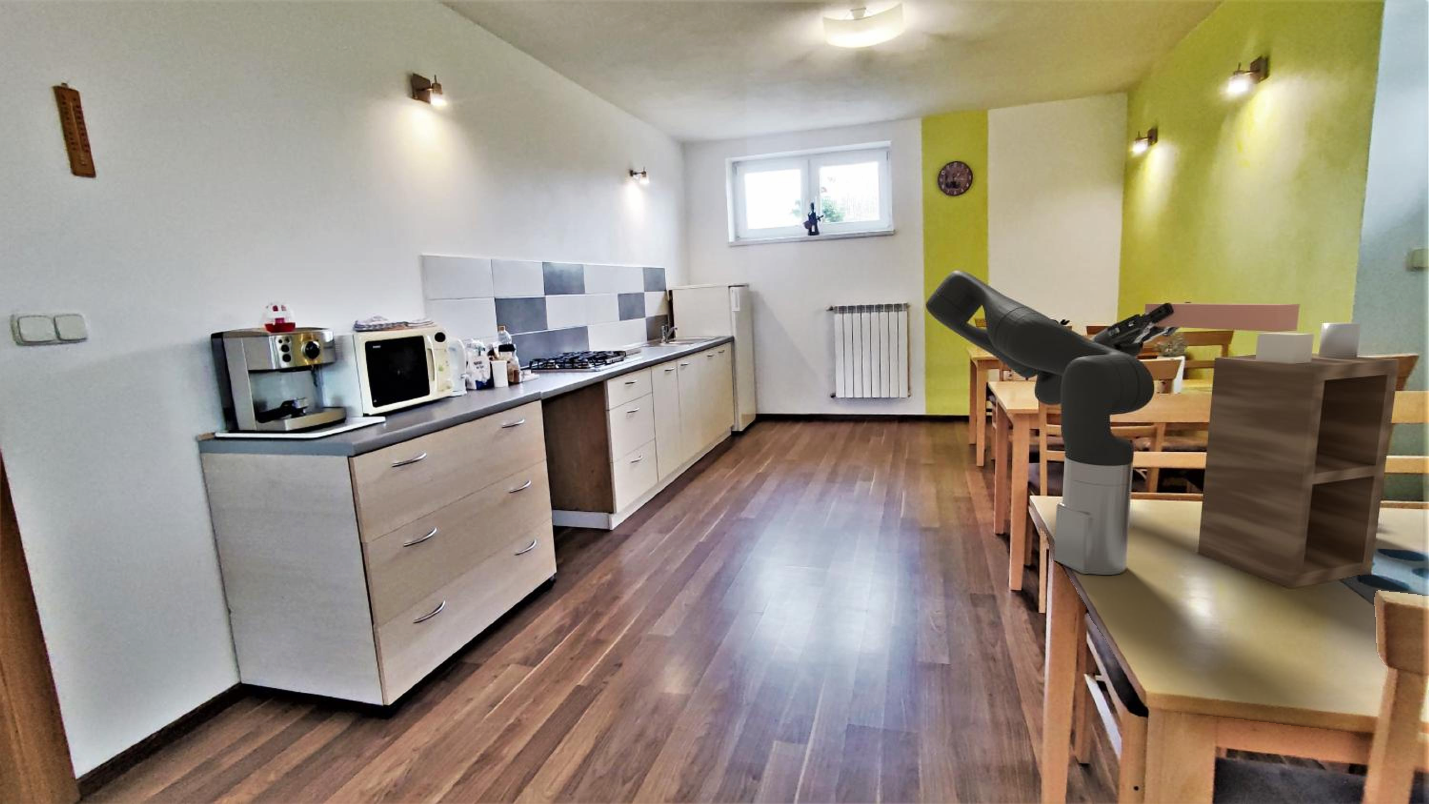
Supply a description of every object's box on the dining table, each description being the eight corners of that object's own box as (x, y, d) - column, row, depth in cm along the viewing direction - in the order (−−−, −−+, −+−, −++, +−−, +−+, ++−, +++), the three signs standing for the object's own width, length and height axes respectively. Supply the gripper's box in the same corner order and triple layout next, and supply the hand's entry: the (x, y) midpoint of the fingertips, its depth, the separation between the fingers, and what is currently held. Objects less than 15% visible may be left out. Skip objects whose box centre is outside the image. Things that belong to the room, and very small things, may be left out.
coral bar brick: (1276, 331, 100) (1279, 305, 100) (1143, 325, 122) (1145, 303, 122) (1296, 330, 101) (1299, 304, 101) (1161, 324, 123) (1162, 302, 123)
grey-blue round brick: (1343, 359, 97) (1347, 324, 96) (1311, 356, 101) (1314, 323, 100) (1364, 357, 98) (1368, 323, 97) (1331, 355, 102) (1335, 322, 101)
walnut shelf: (1290, 588, 95) (1315, 366, 90) (1197, 552, 109) (1214, 357, 104) (1371, 573, 99) (1399, 359, 94) (1272, 540, 113) (1292, 352, 108)
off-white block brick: (1291, 363, 94) (1294, 335, 93) (1255, 360, 99) (1257, 333, 98) (1310, 362, 95) (1314, 333, 94) (1273, 359, 100) (1276, 332, 99)
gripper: (1072, 334, 132) (1140, 289, 117) (1131, 330, 136) (1204, 287, 120) (1085, 368, 130) (1157, 327, 114) (1144, 364, 133) (1221, 324, 118)
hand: (1181, 307), depth 117 cm, fingers closed on coral bar brick, 4 cm apart
